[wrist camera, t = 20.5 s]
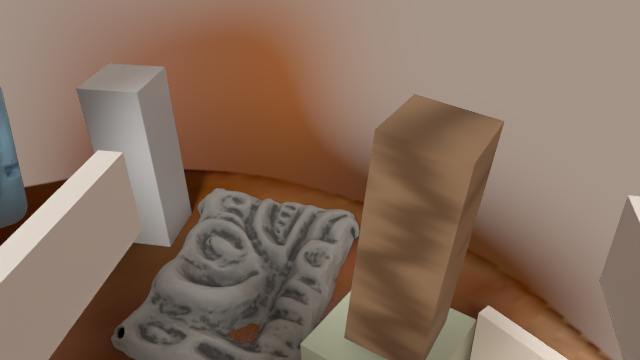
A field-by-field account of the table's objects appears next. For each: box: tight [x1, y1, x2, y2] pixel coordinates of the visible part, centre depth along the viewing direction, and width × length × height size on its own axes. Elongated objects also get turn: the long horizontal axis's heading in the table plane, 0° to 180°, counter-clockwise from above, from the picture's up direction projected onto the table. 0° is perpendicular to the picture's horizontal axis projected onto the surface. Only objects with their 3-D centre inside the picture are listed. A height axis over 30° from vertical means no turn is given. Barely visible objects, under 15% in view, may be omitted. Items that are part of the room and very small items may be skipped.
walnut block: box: [344, 95, 504, 360], centre depth 39 cm, size 6×6×18 cm
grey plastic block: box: [76, 64, 192, 247], centre depth 59 cm, size 6×6×18 cm
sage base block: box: [300, 291, 476, 360], centre depth 46 cm, size 10×10×5 cm
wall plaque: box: [111, 188, 360, 360], centre depth 56 cm, size 24×19×4 cm
